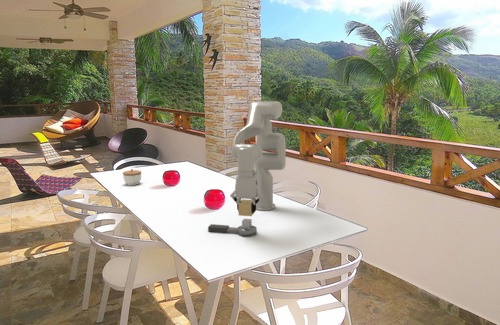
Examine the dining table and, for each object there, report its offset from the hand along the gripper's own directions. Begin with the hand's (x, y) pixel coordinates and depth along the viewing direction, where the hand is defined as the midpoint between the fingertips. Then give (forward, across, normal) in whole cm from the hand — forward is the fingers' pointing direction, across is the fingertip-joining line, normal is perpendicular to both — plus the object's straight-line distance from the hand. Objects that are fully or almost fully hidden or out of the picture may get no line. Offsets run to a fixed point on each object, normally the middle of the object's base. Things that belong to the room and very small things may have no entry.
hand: (246, 211), depth 185 cm
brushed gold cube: (+1, 0, 0) cm, 1 cm away
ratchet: (+11, +7, 0) cm, 13 cm away
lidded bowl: (+11, +106, -78) cm, 132 cm away
